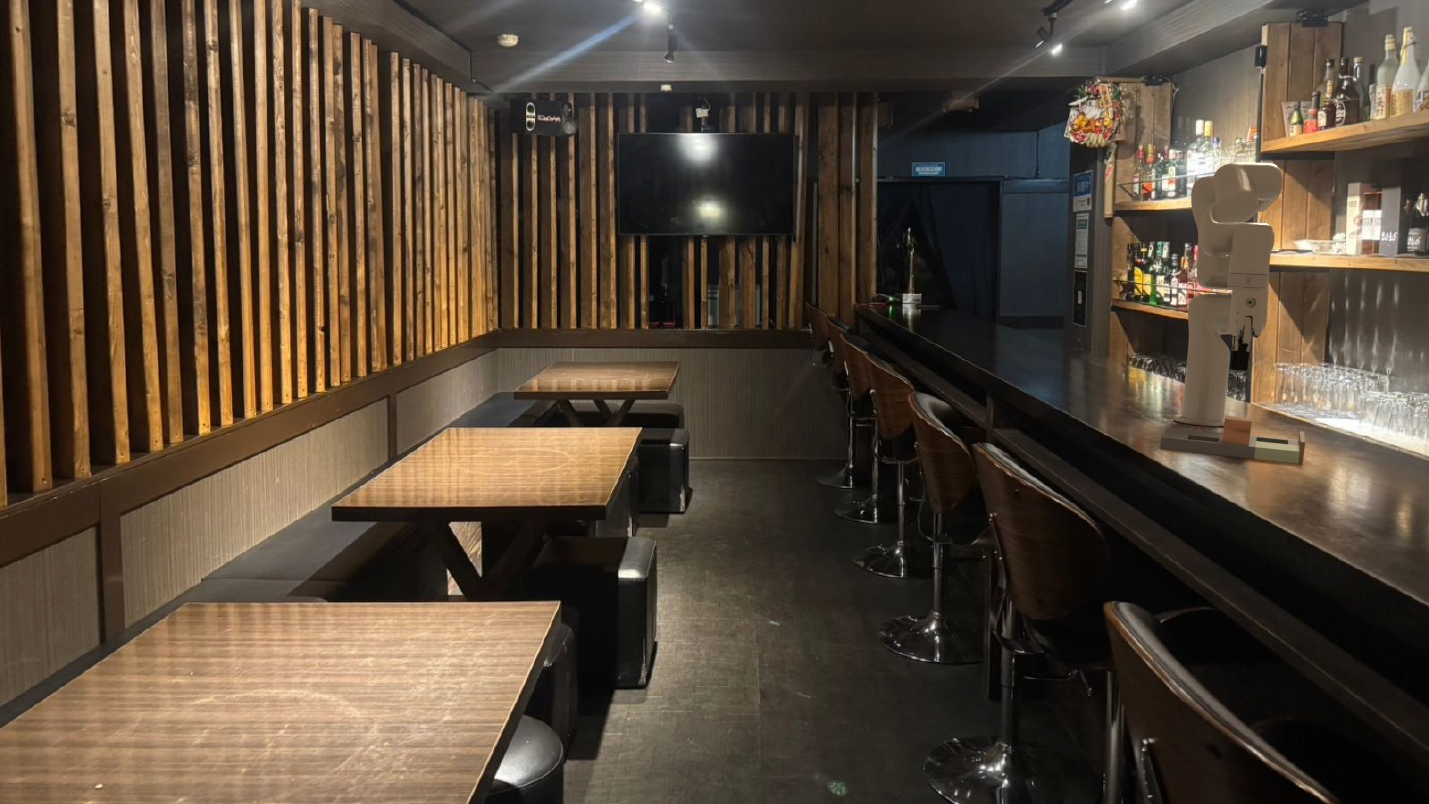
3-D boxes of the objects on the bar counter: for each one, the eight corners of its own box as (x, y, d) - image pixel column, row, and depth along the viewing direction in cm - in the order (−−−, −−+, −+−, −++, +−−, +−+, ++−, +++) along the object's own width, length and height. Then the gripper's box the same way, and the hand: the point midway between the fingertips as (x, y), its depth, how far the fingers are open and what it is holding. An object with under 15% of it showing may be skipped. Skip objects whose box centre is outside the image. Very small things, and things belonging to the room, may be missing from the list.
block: (1223, 439, 235) (1225, 415, 234) (1249, 441, 232) (1251, 418, 232) (1222, 442, 230) (1224, 418, 229) (1248, 445, 228) (1251, 421, 227)
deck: (1166, 438, 248) (1168, 418, 247) (1301, 452, 236) (1303, 431, 235) (1159, 448, 234) (1161, 427, 234) (1302, 464, 223) (1305, 442, 222)
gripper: (1275, 284, 224) (1265, 375, 226) (1259, 282, 238) (1250, 367, 241) (1235, 283, 225) (1226, 372, 228) (1221, 280, 240) (1212, 365, 242)
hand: (1238, 369), depth 234 cm, fingers closed
